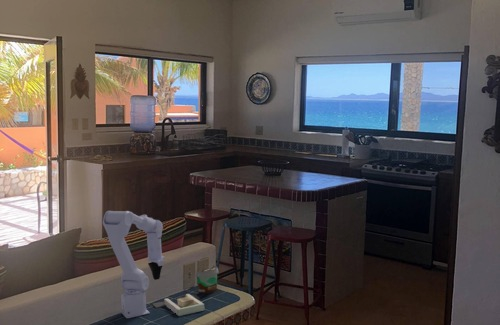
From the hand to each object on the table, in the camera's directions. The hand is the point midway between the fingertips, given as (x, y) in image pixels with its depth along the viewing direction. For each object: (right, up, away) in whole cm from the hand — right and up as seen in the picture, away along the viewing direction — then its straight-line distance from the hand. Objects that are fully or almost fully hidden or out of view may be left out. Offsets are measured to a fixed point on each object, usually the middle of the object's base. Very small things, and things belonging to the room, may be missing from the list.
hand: (156, 279), depth 229 cm
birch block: (+14, -10, -11) cm, 20 cm away
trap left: (+2, -10, -5) cm, 11 cm away
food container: (+23, -8, +10) cm, 26 cm away
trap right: (+15, -9, +2) cm, 18 cm away
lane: (+13, -9, -9) cm, 18 cm away
